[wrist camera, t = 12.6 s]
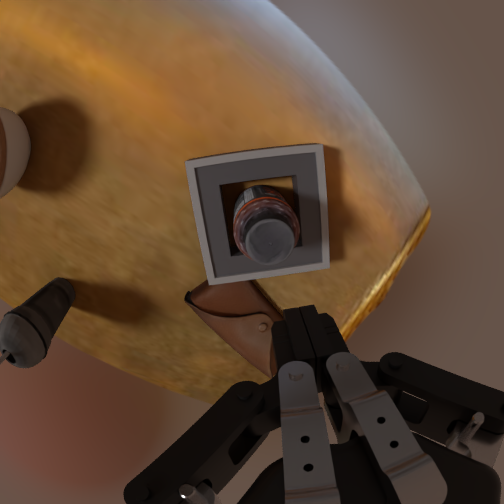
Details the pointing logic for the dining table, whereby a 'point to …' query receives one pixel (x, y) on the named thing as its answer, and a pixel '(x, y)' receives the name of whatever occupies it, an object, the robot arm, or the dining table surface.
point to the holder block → (252, 168)
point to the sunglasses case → (239, 319)
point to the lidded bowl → (12, 150)
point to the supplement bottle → (265, 225)
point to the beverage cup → (35, 324)
